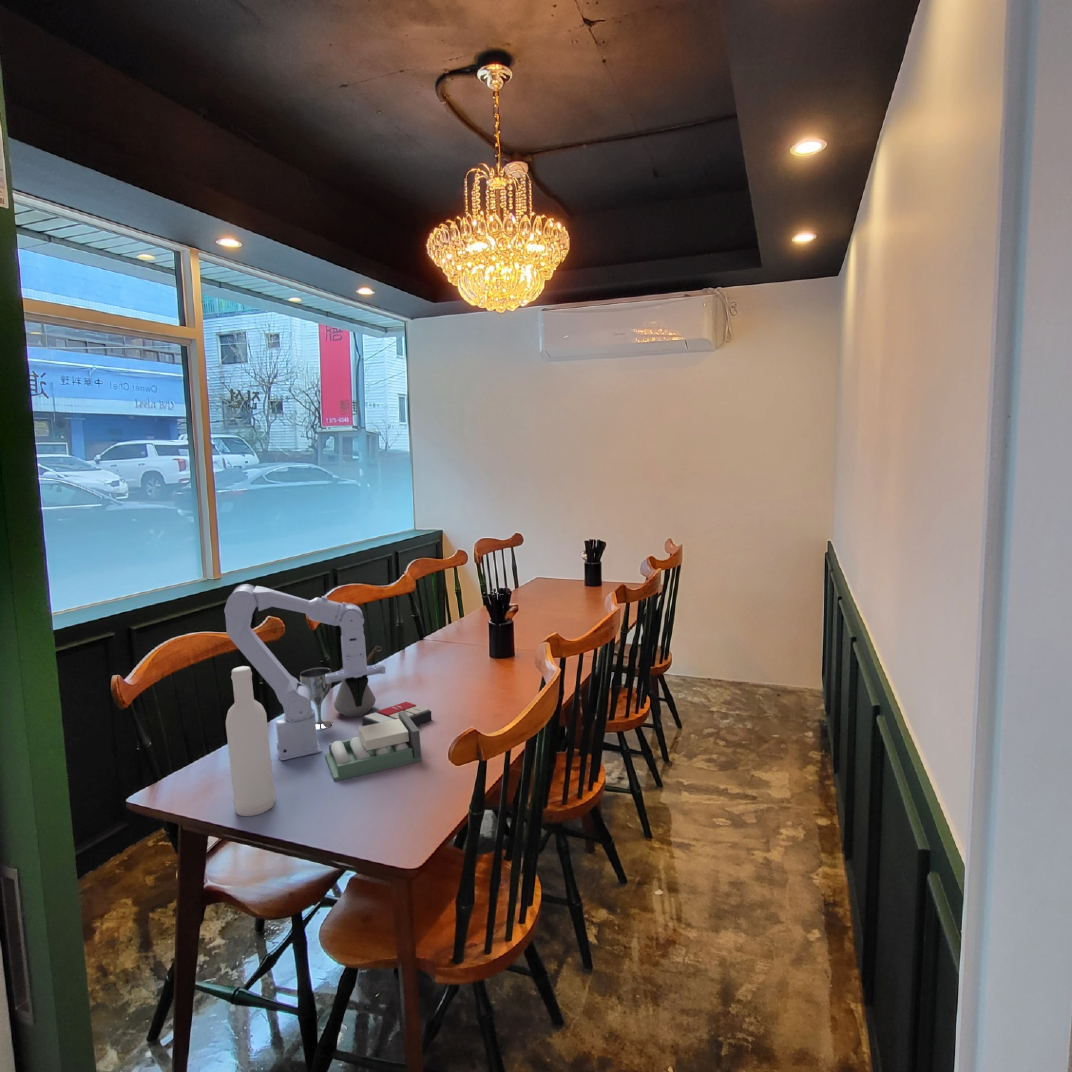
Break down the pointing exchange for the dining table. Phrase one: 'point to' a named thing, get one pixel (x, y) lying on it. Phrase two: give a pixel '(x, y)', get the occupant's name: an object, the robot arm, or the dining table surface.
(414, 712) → the calculator
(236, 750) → the bottle
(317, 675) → the wine glass
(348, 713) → the coffee pot
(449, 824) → the dining table surface
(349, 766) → the roller frame
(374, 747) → the board
